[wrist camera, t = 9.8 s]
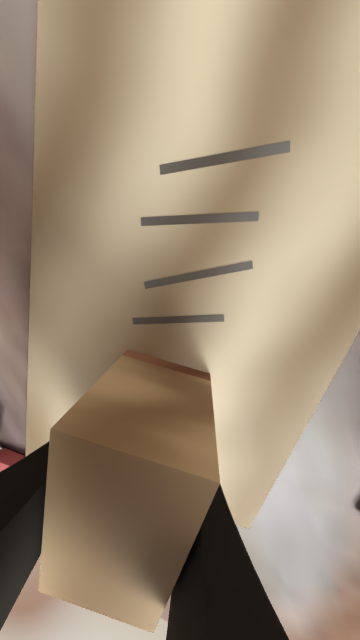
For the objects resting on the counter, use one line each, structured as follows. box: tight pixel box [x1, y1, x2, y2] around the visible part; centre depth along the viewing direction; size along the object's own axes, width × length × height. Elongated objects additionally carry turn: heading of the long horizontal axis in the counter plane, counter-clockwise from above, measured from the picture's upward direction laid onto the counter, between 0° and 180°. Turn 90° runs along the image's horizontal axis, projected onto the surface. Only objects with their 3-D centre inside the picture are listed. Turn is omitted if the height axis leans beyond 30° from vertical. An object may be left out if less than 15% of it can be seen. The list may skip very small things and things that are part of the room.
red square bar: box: [0, 448, 25, 472], centre depth 12 cm, size 9×1×1 cm, turn 77°
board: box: [25, 0, 360, 529], centre depth 8 cm, size 14×22×1 cm, turn 166°
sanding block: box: [39, 350, 220, 633], centre depth 7 cm, size 4×7×4 cm, turn 166°
